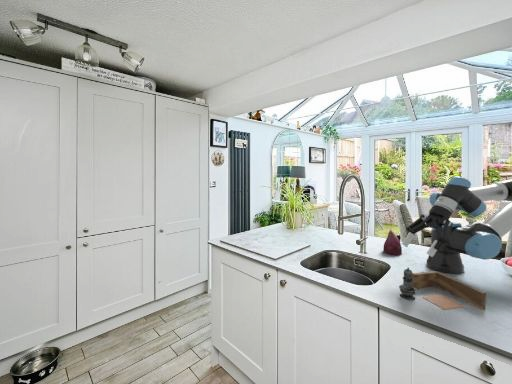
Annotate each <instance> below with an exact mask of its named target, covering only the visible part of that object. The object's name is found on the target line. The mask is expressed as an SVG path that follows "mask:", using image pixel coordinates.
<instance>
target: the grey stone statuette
mask: <svg viewBox="0 0 512 384" xmlns="http://www.w3.org/2000/svg"><path fill="white" fill-rule="evenodd" d="M412 273H413V271H412V270H411V269H410V267H407V268H406V269H404V270H403V277H402V280H403V282H402V284H400V285H399V286H398V289H399V292H400V293H399V297H400V298H401V299H403V300H406V301H415V300H416V297H415V296H414V295H415V294H416V292H417V288H414V287H413V286H412V281H413V279H412Z"/></svg>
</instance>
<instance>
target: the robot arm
mask: <svg viewBox="0 0 512 384" xmlns="http://www.w3.org/2000/svg"><path fill="white" fill-rule="evenodd" d="M471 185H472V182H471V181H470V180H469V179H467V178H465V177H462V176H453V177H451V178H450V179H449V180H448V181H447V183H446V184H445V186H444V188H443V190H441V191H434V192H432V193H431V194H430V196H429V199H428V200H429V203H430V205H431V208H429V211H428V213H429V214H428V215H427V216H426V215H424V214H421V215H420V216H419V218H417V219H416V220H414V221H413V222H411V224H409V226H407V227H406V228H405V230H406V231H407V233H406V235H405V237H404V239H403V241H402V242H401V245H403V247H406V248H408V246H409V245H410V243H411V242H412V240H413V238H414V237H415V234H416V233H419V232H421V231H423V230H425V229H428V228H430V229H431V235H430V237H431V239H430V241H431V243H430V247H429V249H428V250H427V252H426V254H427V255H428V258H427V259H426V267H428V268H430V269H432V270H433V271H438V272H440V273H447V274H448V273H449V274H462V273H463V272H464V270H465V266H464V264H463V259H462V257H461V254H464V255H466V256H469V257H471V258H475V259H480V260H492V259H493V258H495V257H497V256H498V255H499V254H500V252H501V251H500V250H502V247H503V243H502V242H503V237H504V236H505V235H507V234H508V233H509V232H510V231H512V179H506V180H501V181H497V182H496V181H495V182H492V183H490V184H489V185H484V186H478V187H471ZM488 201H489V202H490V201H496V202H501V201H504V202H505V201H507V202H508V201H509V202H508V203H507V204H506V205H504V206H503V207H502V208H500V209H499V210H498V211H496V212H495V213H494V214H492V215H490V217H488V218H487V219H485V220H484V221H483V222H476V223H474V224H473V225H471V226H470V227H463V226H462V223H461V222H456V221H455V222H453V221H451V220H450V218H451V217H452V215H453V214H454V212H455V211H460V212H461V211H462V212H464V213H466V214H467V215H469V216H470V217H479V216H481V215H483V214H484V213H485V211H486V210H487V205H486V204H485V202H488Z"/></svg>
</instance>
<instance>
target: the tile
mask: <svg viewBox="0 0 512 384" xmlns="http://www.w3.org/2000/svg"><path fill="white" fill-rule="evenodd" d="M422 298H423V299H424V300H427V301H428V302H430V303H432V304H433V305H435V306H437V307H438V308H440V309H442V310H443V311H444V310H452V309H458V308H465V307H466V305H463V304H462V303H460V302H458V301H457V300H454V299H453V298H451V297H449V296H447V295H446V294H443V293H442V294H433V295H426V296H425V295H424V296H422Z"/></svg>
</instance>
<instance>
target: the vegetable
mask: <svg viewBox="0 0 512 384" xmlns="http://www.w3.org/2000/svg"><path fill="white" fill-rule="evenodd" d="M402 248H403V247H402V243H401V241H400V239H399V238H398V236H397V235H396V234H395V233H394V231H393V230H392V229H390V230H389V231H388V233H387V237H386V239H385V241H384V243H383V250H382V251H383V253H384V254H385V255H391V256H401V255H403V251H402Z"/></svg>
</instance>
